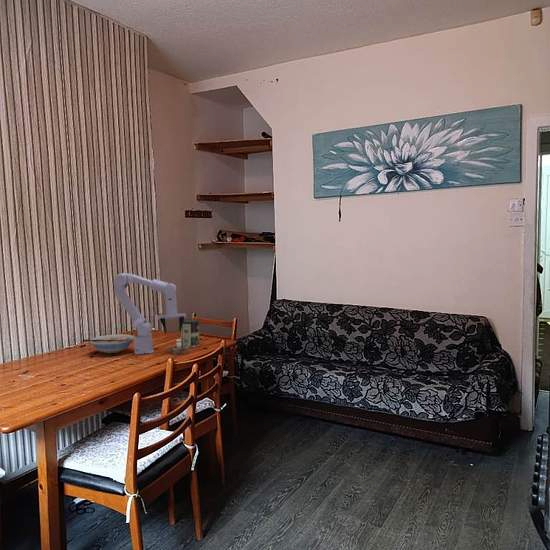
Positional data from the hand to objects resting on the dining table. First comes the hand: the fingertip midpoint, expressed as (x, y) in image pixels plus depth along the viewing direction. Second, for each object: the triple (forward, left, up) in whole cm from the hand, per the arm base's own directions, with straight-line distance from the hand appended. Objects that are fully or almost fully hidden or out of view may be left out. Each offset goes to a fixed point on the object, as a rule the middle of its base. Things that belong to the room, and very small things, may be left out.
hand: (172, 331), depth 260 cm
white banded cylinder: (+2, -5, -10) cm, 12 cm away
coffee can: (+9, +10, -11) cm, 17 cm away
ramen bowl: (-31, +9, -11) cm, 34 cm away
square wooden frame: (+3, -5, -10) cm, 12 cm away
